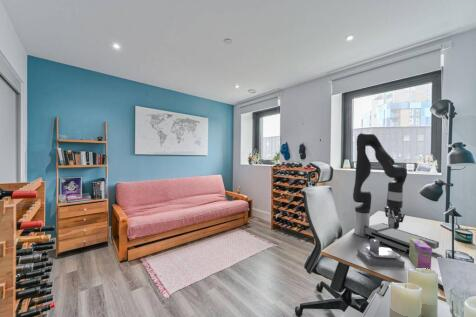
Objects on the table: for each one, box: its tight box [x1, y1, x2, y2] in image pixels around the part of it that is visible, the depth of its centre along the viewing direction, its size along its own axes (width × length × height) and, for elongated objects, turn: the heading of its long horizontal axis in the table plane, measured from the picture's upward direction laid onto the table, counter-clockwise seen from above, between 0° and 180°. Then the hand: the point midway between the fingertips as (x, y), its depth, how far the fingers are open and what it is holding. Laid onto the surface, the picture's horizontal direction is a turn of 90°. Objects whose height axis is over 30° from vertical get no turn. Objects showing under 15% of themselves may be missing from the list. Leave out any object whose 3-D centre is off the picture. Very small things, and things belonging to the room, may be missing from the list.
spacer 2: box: [389, 217, 399, 230], centre depth 121 cm, size 4×4×6 cm
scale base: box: [357, 248, 406, 268], centre depth 112 cm, size 12×18×4 cm, turn 87°
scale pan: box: [365, 246, 401, 259], centre depth 112 cm, size 9×13×1 cm
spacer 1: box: [369, 239, 380, 253], centre depth 112 cm, size 4×4×6 cm
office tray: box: [365, 222, 440, 256], centre depth 132 cm, size 21×32×8 cm, turn 25°
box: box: [408, 238, 433, 270], centre depth 109 cm, size 10×6×12 cm, turn 158°
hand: (393, 226), depth 121 cm, fingers closed on spacer 2, 4 cm apart
